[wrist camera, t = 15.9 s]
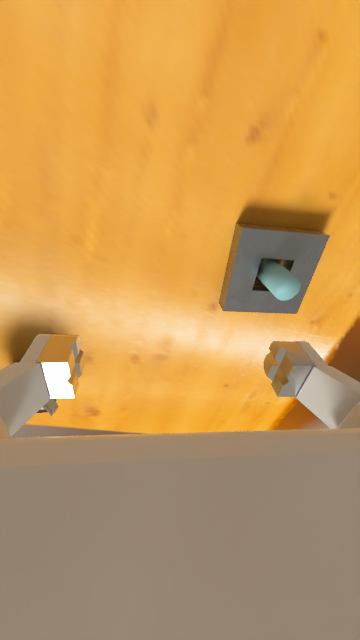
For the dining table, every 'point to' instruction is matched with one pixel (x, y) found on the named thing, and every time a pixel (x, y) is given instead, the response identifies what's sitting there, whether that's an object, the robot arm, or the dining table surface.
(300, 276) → the socket block
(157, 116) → the dining table surface
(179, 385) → the dining table surface
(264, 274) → the teal peg
